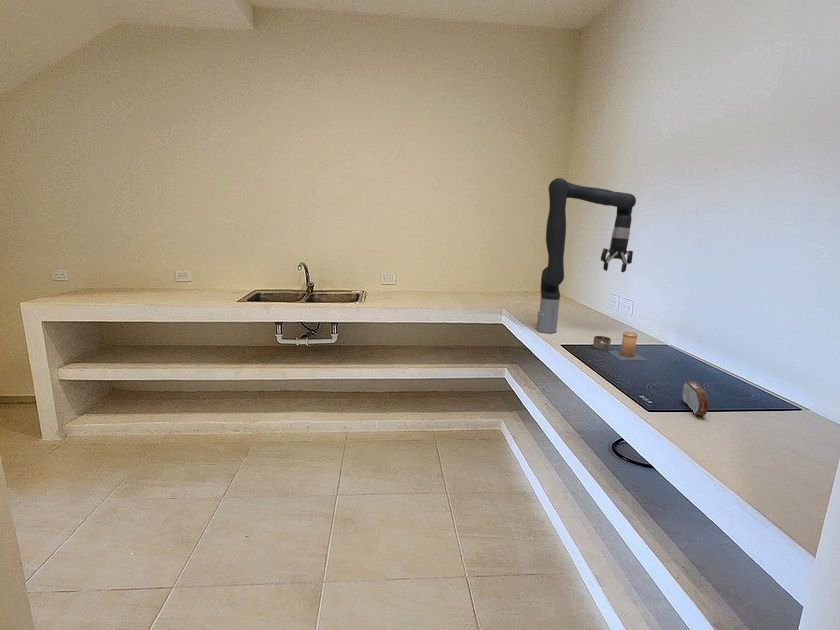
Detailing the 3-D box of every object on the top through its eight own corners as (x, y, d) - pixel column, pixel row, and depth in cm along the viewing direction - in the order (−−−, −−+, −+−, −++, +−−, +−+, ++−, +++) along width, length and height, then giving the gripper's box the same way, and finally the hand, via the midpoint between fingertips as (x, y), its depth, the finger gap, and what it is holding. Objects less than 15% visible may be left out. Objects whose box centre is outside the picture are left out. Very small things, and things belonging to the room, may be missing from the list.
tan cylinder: (623, 357, 204) (627, 335, 202) (617, 353, 210) (620, 331, 207) (636, 357, 204) (640, 335, 202) (630, 353, 210) (633, 331, 208)
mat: (620, 360, 201) (620, 359, 201) (607, 351, 212) (607, 350, 212) (647, 361, 202) (647, 360, 202) (633, 352, 213) (633, 351, 213)
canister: (596, 350, 214) (598, 340, 213) (590, 345, 221) (591, 335, 220) (612, 350, 214) (613, 340, 213) (605, 345, 221) (606, 336, 220)
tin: (706, 420, 147) (711, 395, 145) (695, 419, 148) (700, 394, 146) (688, 400, 162) (693, 377, 160) (678, 399, 162) (682, 376, 160)
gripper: (609, 236, 220) (603, 271, 223) (638, 239, 221) (632, 273, 224) (602, 235, 227) (596, 269, 231) (630, 238, 228) (624, 271, 232)
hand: (614, 271), depth 227 cm, fingers open, 8 cm apart
